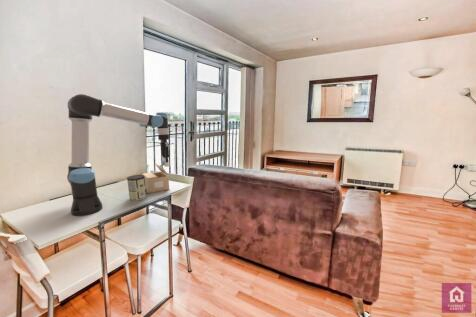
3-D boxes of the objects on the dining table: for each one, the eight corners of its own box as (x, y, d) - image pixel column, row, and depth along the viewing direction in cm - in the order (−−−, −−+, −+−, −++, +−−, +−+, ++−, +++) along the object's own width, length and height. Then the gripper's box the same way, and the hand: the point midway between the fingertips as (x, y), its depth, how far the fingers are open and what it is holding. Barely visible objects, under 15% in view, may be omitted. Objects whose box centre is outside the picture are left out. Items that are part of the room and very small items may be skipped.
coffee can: (134, 195, 160) (132, 174, 158) (149, 195, 159) (147, 174, 157) (126, 200, 150) (123, 178, 148) (141, 200, 149) (139, 178, 147)
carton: (149, 193, 163) (147, 178, 161) (143, 187, 178) (141, 173, 176) (169, 189, 171) (168, 175, 169) (162, 184, 186) (160, 170, 184)
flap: (160, 167, 166) (168, 161, 168) (154, 163, 180) (161, 158, 182) (167, 175, 169) (174, 169, 172) (160, 171, 183) (167, 165, 186)
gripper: (172, 134, 167) (174, 167, 171) (165, 133, 181) (167, 163, 185) (161, 135, 163) (164, 168, 167) (155, 133, 177) (157, 164, 181)
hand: (166, 165), depth 176 cm, fingers closed on flap, 4 cm apart
